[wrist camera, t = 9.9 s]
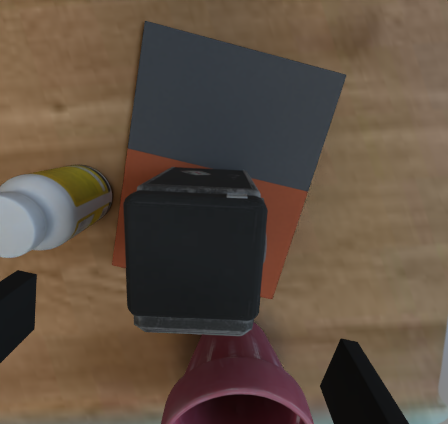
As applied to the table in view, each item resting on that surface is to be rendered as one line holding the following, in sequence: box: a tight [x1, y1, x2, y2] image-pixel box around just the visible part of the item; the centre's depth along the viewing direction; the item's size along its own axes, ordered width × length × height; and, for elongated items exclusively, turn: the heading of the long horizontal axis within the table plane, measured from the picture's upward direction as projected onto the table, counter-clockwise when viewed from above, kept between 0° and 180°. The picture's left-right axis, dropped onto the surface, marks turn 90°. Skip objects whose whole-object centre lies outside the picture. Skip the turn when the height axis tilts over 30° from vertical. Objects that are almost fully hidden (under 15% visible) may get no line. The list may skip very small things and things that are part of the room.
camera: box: [123, 167, 268, 336], centre depth 23 cm, size 10×11×15 cm
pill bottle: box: [0, 165, 112, 258], centre depth 24 cm, size 6×6×12 cm
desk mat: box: [112, 21, 346, 299], centre depth 29 cm, size 20×26×1 cm
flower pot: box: [161, 322, 314, 424], centre depth 29 cm, size 14×14×13 cm
